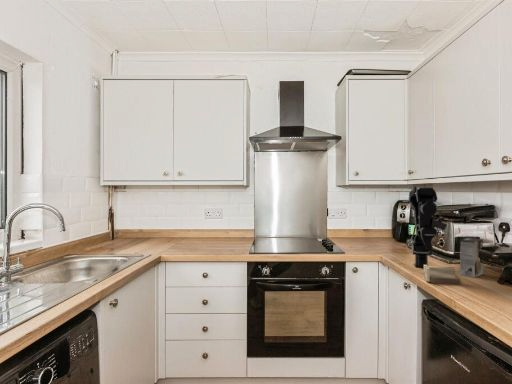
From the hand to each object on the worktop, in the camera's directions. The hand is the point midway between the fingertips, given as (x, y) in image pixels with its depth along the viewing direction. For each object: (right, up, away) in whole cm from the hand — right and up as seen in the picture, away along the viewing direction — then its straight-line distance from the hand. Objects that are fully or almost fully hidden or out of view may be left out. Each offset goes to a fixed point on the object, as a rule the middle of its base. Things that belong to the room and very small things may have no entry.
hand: (426, 247), depth 159 cm
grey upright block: (+19, -12, -4) cm, 23 cm away
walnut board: (+2, -12, -9) cm, 15 cm away
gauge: (-1, -12, -13) cm, 18 cm away
